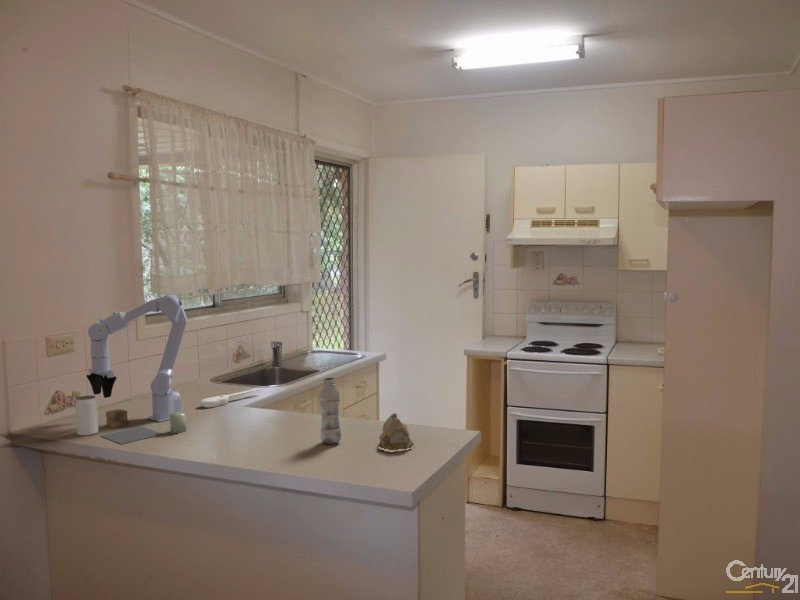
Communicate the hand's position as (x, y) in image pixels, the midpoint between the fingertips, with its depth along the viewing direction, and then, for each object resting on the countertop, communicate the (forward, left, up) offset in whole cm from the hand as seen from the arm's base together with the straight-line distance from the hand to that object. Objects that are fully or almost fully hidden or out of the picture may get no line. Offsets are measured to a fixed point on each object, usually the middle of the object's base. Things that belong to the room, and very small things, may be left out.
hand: (102, 395), depth 239 cm
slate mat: (+2, +24, -9) cm, 26 cm away
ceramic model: (-44, +98, -10) cm, 108 cm away
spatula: (-47, +10, -10) cm, 49 cm away
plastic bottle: (-33, +81, -10) cm, 88 cm away
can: (+10, +10, -10) cm, 17 cm away
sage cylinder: (-10, +32, -9) cm, 35 cm away
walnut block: (-1, +8, -10) cm, 12 cm away
